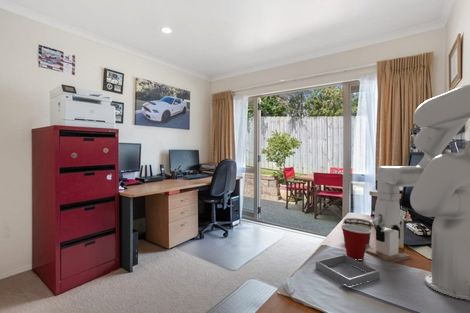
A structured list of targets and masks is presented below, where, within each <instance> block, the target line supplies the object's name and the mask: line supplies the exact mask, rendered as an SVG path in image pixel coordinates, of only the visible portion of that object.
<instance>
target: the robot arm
mask: <svg viewBox="0 0 470 313" xmlns="http://www.w3.org/2000/svg"><path fill="white" fill-rule="evenodd" d="M469 119H470V84H466V85H462V86H460V87H457V88H454V89H452V90H449V91H447V92H445V93H442V94H439V95H437V96H434V97H432V98H429V99H426V100H425V101H424V102H423V103H421V104H420V105H418V107H417V108H416V109H415V110H414V114H413V122H414V124H415V125H416V126H417V127H418V128H421V129H420V130H419V132H418V134H416V136H415V138H414V139H413V145H414V147H416V149H418V150H419V151H420V152H422V153H424V154H423V157H422V159H421V160H420V162H418V163H417V165H413V166H412V165H404V166H403V165H401V166H399V165H398V166H397V165H396V166H393V165H382V166H378V167H377V172H376V173H377V174H376V176H377V179H376V180H377V182H376V183H377V192H376V194H377V198H376V202H375V205H374V206H375V207H374V219H373V220H372V224H373V228H374V230H375V240H378V241H381V242H385V232H383V231H384V229H385V227H386V226H393V227H391V229H392V230H396V231H399V239H400V229H401V224H402V219H403V215H401V205H400V188H403V187H412V190H411V192H410V197H409V201H410V202H409V203H410V206H411V209H413V210H414V211H415V213H417V214H419V216H420V215H421V216H424V217H431V218H432V217H433V218H434V220H433V222H432V227H431V228H432V230H431V265H430V266H431V269H430V272H431V273H430V274H429V275H426V276H425V277H424V283H425V282H426V283H425V284H426V285H427V286H428V287H429V288H430V287H431V288H430V289H432V288H433V289H434V291H435V290H436V291H435V292H437V291H439V292H441V293H440V294H442V293H445V294H447V295H450V296H453V297H456V298H455V299H457V298H462V299H470V143H468V145H467V147H465V148H464V150H463V151H460V152H446V153H443V151H444V150H445V149H446V148H447V147H448V145H449V144H450V143H451V141H453V139H454V138H455V136H456V135H457V134H458V133H459V132H460V131H461V129H462V128H463V127H464V126H465V125H466V124H467V122H468V121H469ZM433 289H432V290H433ZM439 292H438V293H439ZM447 295H446V296H447ZM450 296H449V297H450ZM453 297H452V298H453ZM462 299H461V300H462Z"/></svg>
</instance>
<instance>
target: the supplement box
mask: <svg viewBox="0 0 470 313" xmlns="http://www.w3.org/2000/svg"><path fill="white" fill-rule="evenodd" d="M404 224H405V220H404V218H403V219H402V224H401V229H400V239H398V249H404V231H405V230H404V226H405V225H404ZM391 227H393V226H386V227H385V228H389V229H391Z"/></svg>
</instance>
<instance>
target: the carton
mask: <svg viewBox="0 0 470 313" xmlns="http://www.w3.org/2000/svg"><path fill="white" fill-rule="evenodd" d="M383 232H385V242H381V241H378V240H376V239H375V240H376V241H375V247H376V251H378V252H380V253H383V254H385V255H388V256H392V255H396V254H398V251H399V248H398V239H399V231H396V230H392V229H389V228H385V229H384V231H383Z"/></svg>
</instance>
